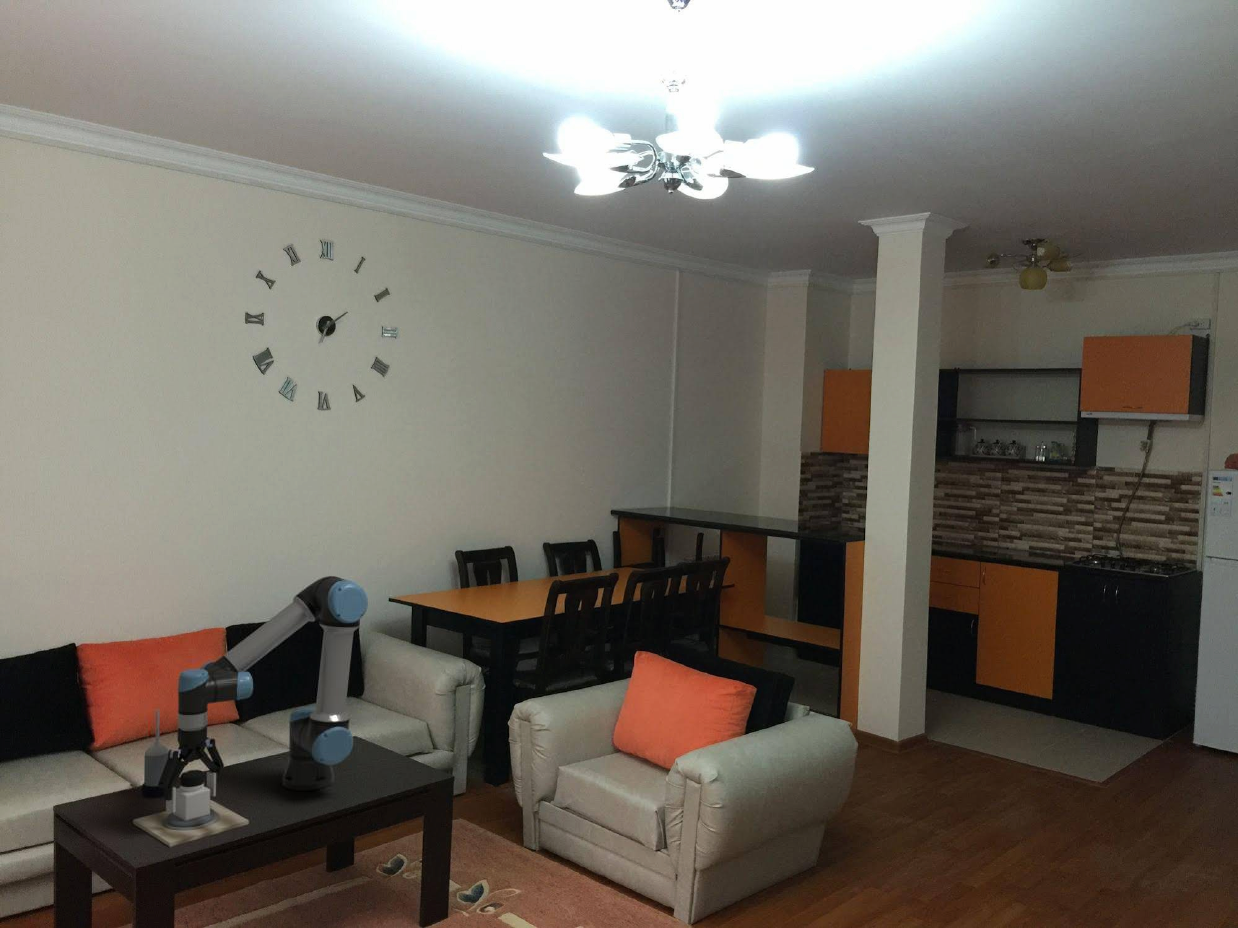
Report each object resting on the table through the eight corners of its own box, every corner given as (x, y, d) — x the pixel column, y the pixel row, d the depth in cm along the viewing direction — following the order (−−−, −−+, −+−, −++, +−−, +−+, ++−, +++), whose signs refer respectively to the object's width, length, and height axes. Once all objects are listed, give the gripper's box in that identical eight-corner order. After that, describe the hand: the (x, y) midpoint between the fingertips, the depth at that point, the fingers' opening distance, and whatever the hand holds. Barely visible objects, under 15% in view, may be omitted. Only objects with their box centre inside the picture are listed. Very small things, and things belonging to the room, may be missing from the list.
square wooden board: (210, 802, 299) (210, 794, 299) (248, 823, 284) (248, 814, 284) (133, 823, 282) (133, 814, 282) (169, 846, 268) (170, 837, 268)
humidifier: (174, 787, 310) (175, 705, 309) (168, 797, 302) (169, 713, 301) (145, 788, 308) (146, 706, 307) (138, 798, 300) (139, 714, 299)
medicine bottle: (210, 814, 284) (211, 771, 283) (185, 821, 278) (186, 777, 278) (197, 807, 288) (198, 765, 288) (172, 814, 283) (173, 771, 282)
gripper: (218, 713, 295) (217, 786, 296) (144, 736, 273) (143, 815, 274) (237, 717, 292) (236, 791, 293) (163, 740, 269) (162, 820, 270)
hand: (191, 803), depth 283 cm, fingers open, 13 cm apart
